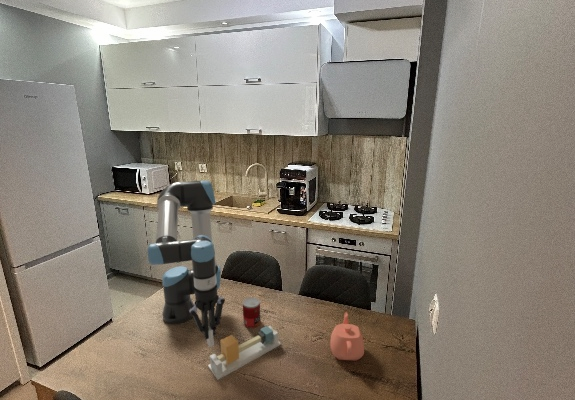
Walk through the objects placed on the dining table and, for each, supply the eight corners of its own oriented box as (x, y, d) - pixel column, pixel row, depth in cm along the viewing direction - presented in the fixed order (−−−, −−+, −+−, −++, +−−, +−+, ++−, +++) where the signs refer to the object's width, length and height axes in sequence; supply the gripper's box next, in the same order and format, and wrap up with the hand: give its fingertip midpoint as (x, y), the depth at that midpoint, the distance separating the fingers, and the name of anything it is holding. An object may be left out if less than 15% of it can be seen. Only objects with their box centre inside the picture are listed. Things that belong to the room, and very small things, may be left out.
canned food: (257, 329, 141) (257, 307, 138) (241, 327, 143) (240, 305, 140) (262, 318, 148) (261, 298, 145) (246, 316, 150) (245, 296, 147)
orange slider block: (221, 357, 121) (220, 340, 119) (232, 351, 124) (231, 334, 122) (227, 364, 117) (226, 347, 115) (239, 358, 120) (238, 341, 118)
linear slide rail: (208, 366, 120) (206, 351, 118) (269, 334, 137) (269, 321, 135) (217, 380, 114) (216, 364, 112) (280, 344, 131) (280, 330, 129)
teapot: (359, 335, 136) (361, 311, 133) (366, 371, 117) (368, 344, 114) (329, 334, 137) (329, 309, 134) (330, 369, 118) (331, 342, 115)
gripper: (191, 296, 101) (197, 358, 106) (227, 283, 108) (231, 342, 114) (183, 287, 106) (189, 346, 112) (218, 275, 114) (221, 331, 120)
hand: (210, 344), depth 113 cm, fingers closed
